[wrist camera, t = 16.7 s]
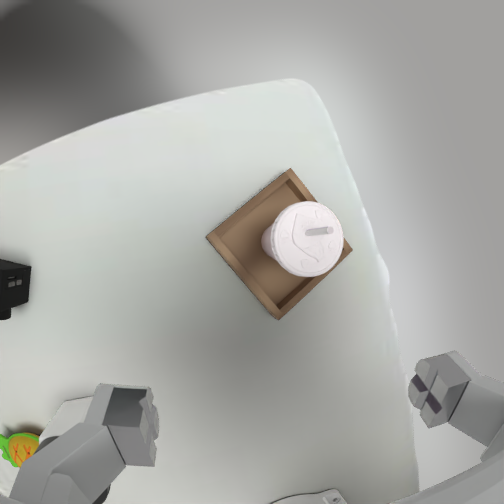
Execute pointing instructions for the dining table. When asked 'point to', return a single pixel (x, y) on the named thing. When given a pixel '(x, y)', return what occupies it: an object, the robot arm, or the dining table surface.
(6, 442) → the toy pineapple
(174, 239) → the dining table surface
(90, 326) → the dining table surface
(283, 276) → the tray
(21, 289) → the digital camera
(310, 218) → the smoothie
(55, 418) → the jar
